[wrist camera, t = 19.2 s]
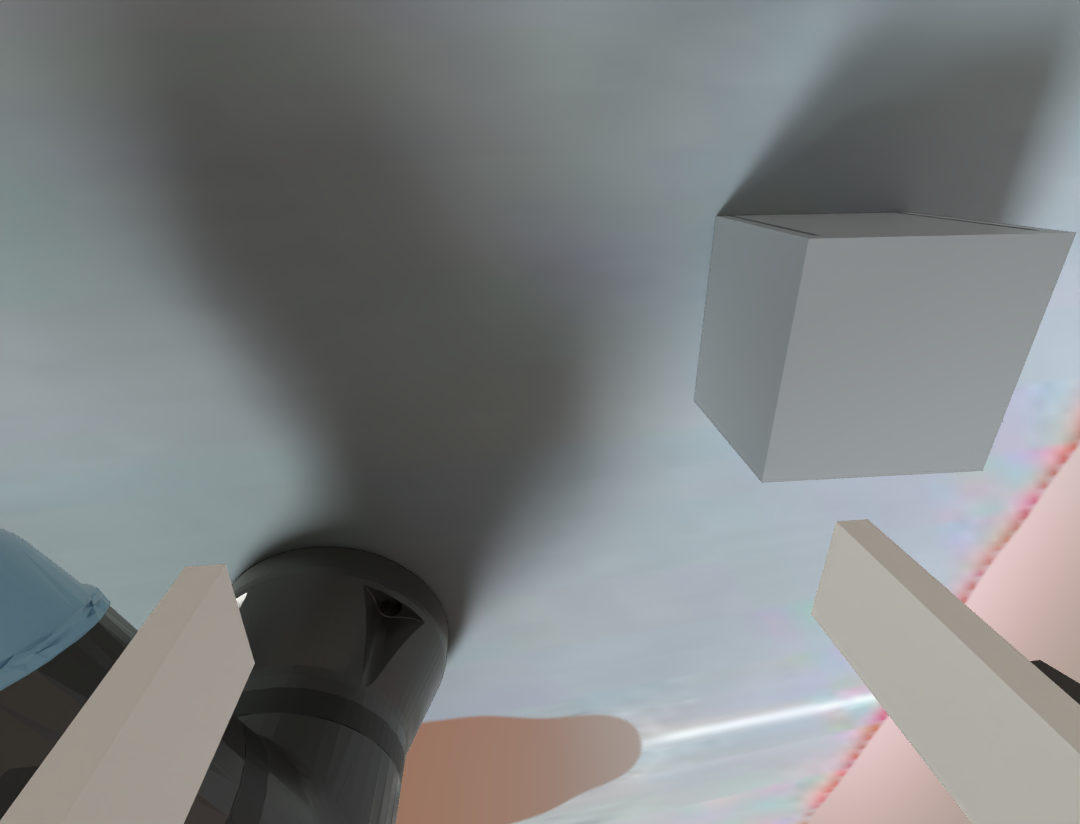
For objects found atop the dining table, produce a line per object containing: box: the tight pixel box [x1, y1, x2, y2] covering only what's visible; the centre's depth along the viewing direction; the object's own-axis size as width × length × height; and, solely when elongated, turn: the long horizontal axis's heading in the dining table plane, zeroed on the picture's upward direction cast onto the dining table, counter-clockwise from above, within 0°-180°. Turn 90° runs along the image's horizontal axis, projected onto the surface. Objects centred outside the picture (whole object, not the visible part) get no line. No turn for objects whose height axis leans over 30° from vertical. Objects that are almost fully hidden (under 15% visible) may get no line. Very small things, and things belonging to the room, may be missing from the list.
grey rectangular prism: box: [694, 212, 1076, 483], centre depth 26 cm, size 10×10×9 cm
